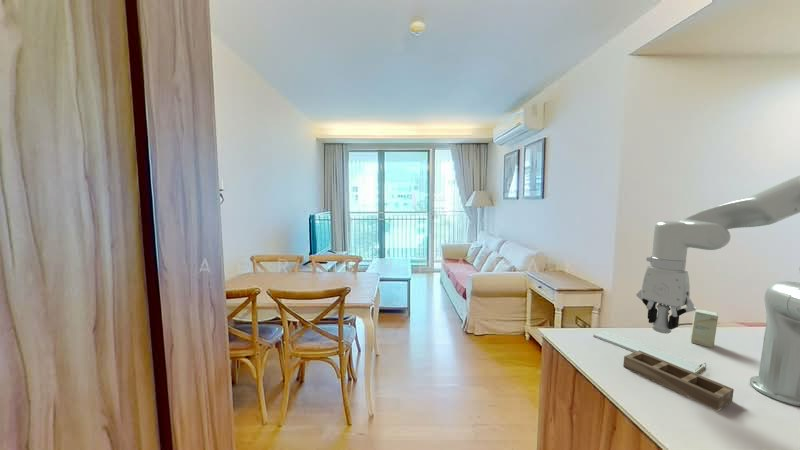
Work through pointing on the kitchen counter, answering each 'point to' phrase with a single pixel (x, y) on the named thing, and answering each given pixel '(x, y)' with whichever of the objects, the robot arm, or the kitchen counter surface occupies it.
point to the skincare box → (704, 327)
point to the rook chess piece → (662, 319)
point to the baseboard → (648, 351)
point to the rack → (680, 380)
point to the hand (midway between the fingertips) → (662, 324)
